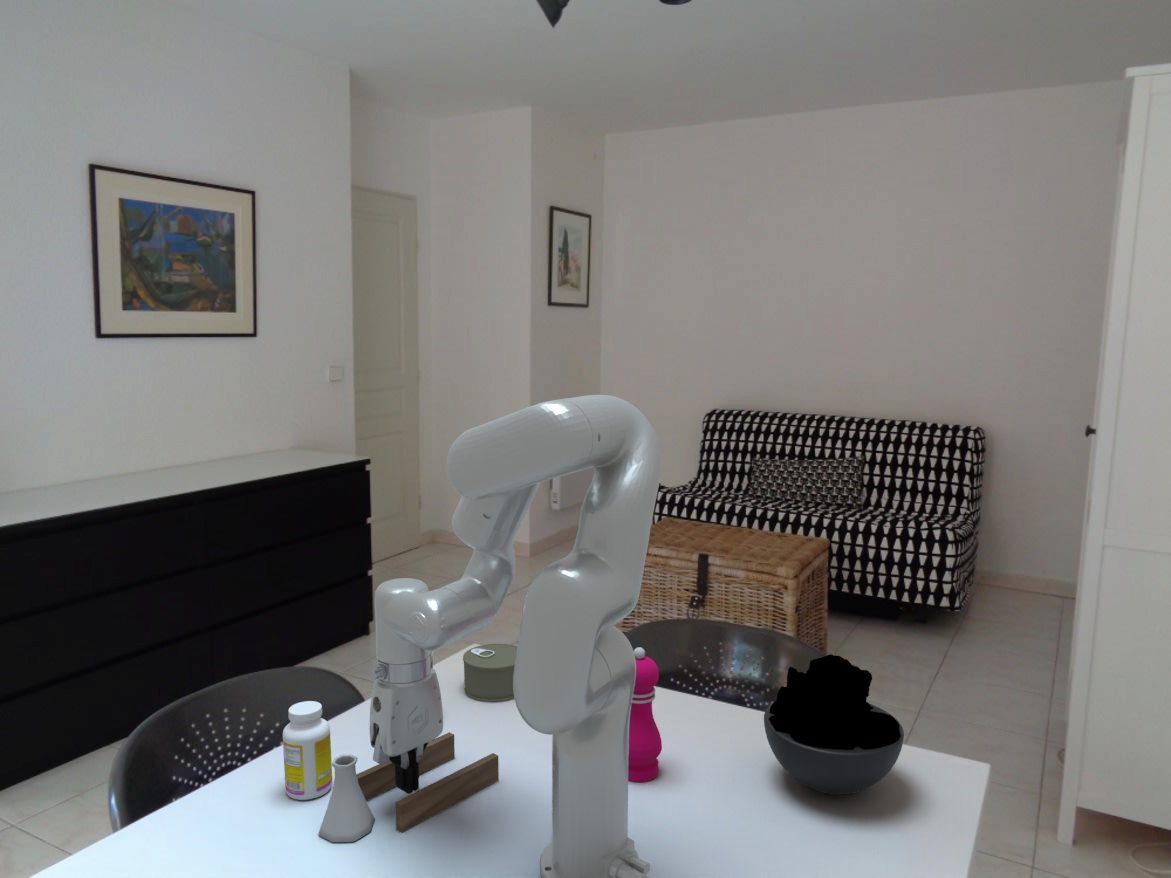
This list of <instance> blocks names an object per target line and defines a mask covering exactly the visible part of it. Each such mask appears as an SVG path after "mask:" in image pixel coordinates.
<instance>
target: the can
mask: <svg viewBox="0 0 1171 878" xmlns="http://www.w3.org/2000/svg"><path fill="white" fill-rule="evenodd" d="M517 647H518V645H513V644H507V643H488V644H482V645H477V646H475V647H472V648H470V649H468V650H466V651H465V652H464V654H463V656H462V662H463V671H464V672H463V673H464V674H463V676H464V677H463V678H464V694H465V695H466V696H467V697H468V698H469V699H471V700H473V701H477V702H482V703H493V704H494V703H504V702H508V701H512V700H515V699H514V693H513V675H514V667H515V660H516V653H517Z"/></svg>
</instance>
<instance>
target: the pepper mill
mask: <svg viewBox="0 0 1171 878" xmlns="http://www.w3.org/2000/svg"><path fill="white" fill-rule="evenodd" d="M633 651H634V655H635V660H636V678H635V686H634V692H633V698H632V704H631V711H630V722H629V754H628V782H629V781H630V782H633V783H634V782H635V783H643V782H649V781H651V780H652V781H653V780H654V779H655V778H657V776H658V775H659V760H658V758H659V756H660V755H661V753H662V750H663V744H662V743H663V742H662V737H661V734H660V731H659V728H658V725H657V724H656V722H655V718H654V714H653V701H654V700H655V699H656V694H655V693H656V688H655V686H656V685H657V683H658V681H659V675H660V672H659V668H658V665H657V664H656V662H655V661H654V660H653V659H652V658H650V657H648V656H646V651H645V649H644V648H643V647H638V646H637V647H636V648H635V649H633Z"/></svg>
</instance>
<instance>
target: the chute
mask: <svg viewBox="0 0 1171 878" xmlns="http://www.w3.org/2000/svg"><path fill="white" fill-rule="evenodd" d="M455 754H456V753H455V734H454V733H452V732H447V733H445V734H443V735H439V736H438V737H437V738H435V739H434V740H433V741H431V742H430V743H429V744H427V746H426V748H425V750H424V751H423V757H422V760H421V762H419V776H422V775H424V774H426V773H427V772H431V770H433V769H436V768H438V767H440V766H442V765H444V764H446V763H448V762H450V761H452V760H454V759H456V757H455ZM356 775H357V779H358V784H359V786H360V788H361V791H362V793H363V795H364V797H365V800H366V802H368V801H370V800H372V799H374V798H377V797H378V796H381V795H382V794H384V793H386V792H388V791H390V790H392V789H395V788H397V786H396V782H395V764H393V763H392V762H387V763H382V764H379V763H377V764H376V765H374V766H372V767H370V768H367V769H365V770H364V771H361V772H358V773H356ZM499 775H500V773H499V755H498V754H496V753H494V752H493V753H490V754H488V755H486V756H483V758H480V759H478V760H476V761H474V762H472V763H470V764H467V765H466V766H464V767H462V768H461V769H458V770H456V771H454V772H452V773H450V774H448V775H446V776H444V777H443V778H441V779H438V780H436V781H434V782H432V783H430V784H428V785H427V786H424V787H422V788H421V789H418V790H416V791H413V792H412V793H410V794H408V795H407V796H405V797H403V798H400V799H399V800H396V801H395V802H394V804H395V805H394V807H395V808H394V810H395V830H396V831H398V832H400V833H404V832H406V831H408V830H410V829H412V828H414V827H415V826H417V825H419V824H420V823H423V822H425V821H426V820H428V819H430V818H431V817H433V816H437V814H439V813H441V812H443V811H444V810H446V809H449V808H450V807H452V806H454V805H456V804H458V803H460V802H461V801H463V800H465V799H467V798H469V797H471V796H473V795H474V794H477V793H478V792H480V791H482V790H484V789H486V788H488V787H490V786H491V785H493V784H495V783H496V782H498V781H500V780H499Z"/></svg>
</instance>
